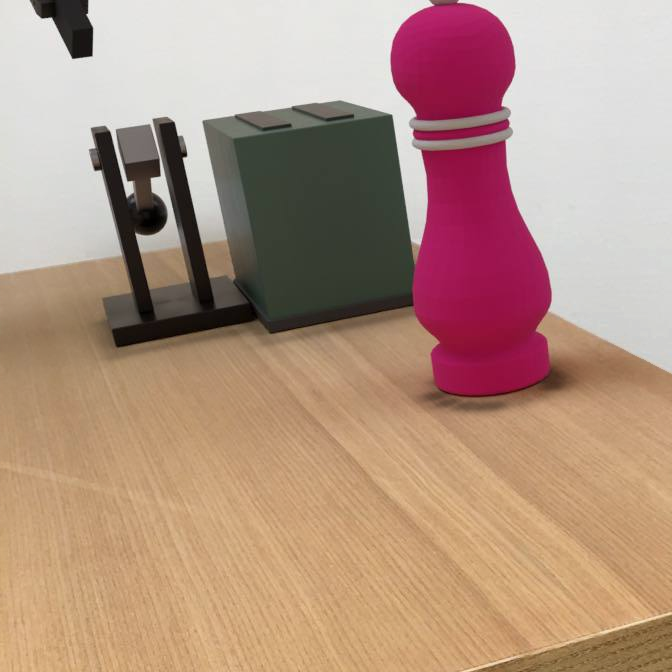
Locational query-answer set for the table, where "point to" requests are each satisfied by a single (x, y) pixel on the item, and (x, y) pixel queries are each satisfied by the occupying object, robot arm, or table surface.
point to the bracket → (201, 291)
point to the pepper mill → (470, 204)
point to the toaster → (313, 211)
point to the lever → (142, 178)
